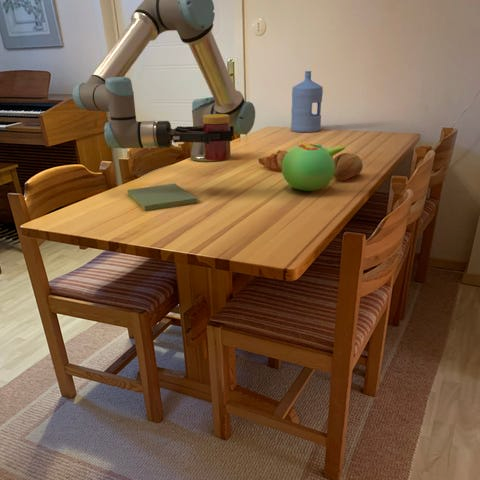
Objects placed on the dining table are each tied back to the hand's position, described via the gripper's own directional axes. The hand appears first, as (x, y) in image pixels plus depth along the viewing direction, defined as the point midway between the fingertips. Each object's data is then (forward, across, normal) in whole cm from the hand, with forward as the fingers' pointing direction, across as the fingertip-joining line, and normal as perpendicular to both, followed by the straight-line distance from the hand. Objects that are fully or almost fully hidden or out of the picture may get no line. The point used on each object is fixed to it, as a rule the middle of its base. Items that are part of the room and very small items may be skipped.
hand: (232, 133), depth 145 cm
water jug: (+32, -121, -18) cm, 126 cm away
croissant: (+17, -32, -18) cm, 40 cm away
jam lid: (-5, 0, +4) cm, 7 cm away
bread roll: (+38, -18, -18) cm, 46 cm away
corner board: (-22, +5, -18) cm, 29 cm away
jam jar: (-5, 0, -7) cm, 8 cm away
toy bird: (+24, -4, -18) cm, 30 cm away
